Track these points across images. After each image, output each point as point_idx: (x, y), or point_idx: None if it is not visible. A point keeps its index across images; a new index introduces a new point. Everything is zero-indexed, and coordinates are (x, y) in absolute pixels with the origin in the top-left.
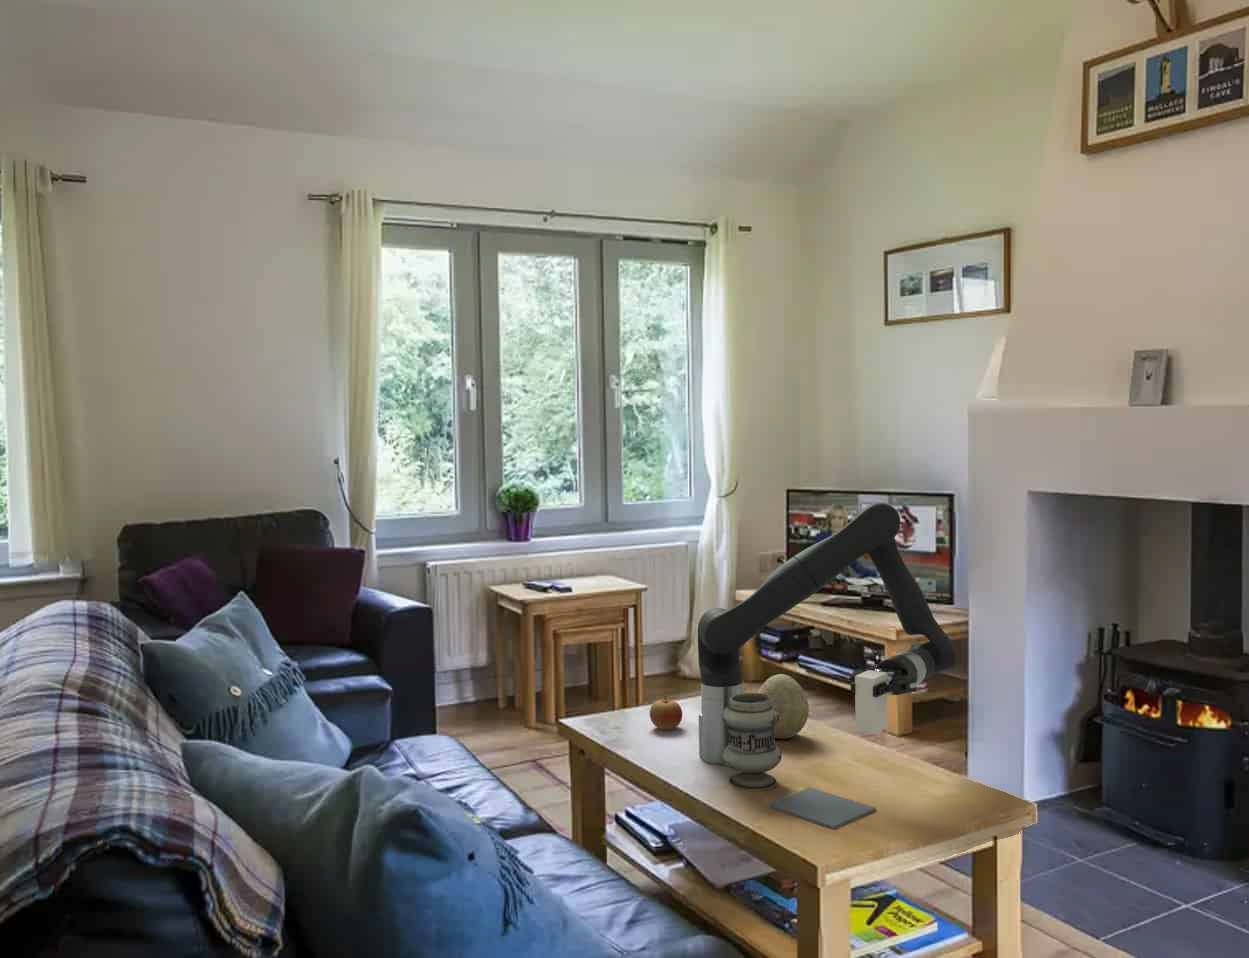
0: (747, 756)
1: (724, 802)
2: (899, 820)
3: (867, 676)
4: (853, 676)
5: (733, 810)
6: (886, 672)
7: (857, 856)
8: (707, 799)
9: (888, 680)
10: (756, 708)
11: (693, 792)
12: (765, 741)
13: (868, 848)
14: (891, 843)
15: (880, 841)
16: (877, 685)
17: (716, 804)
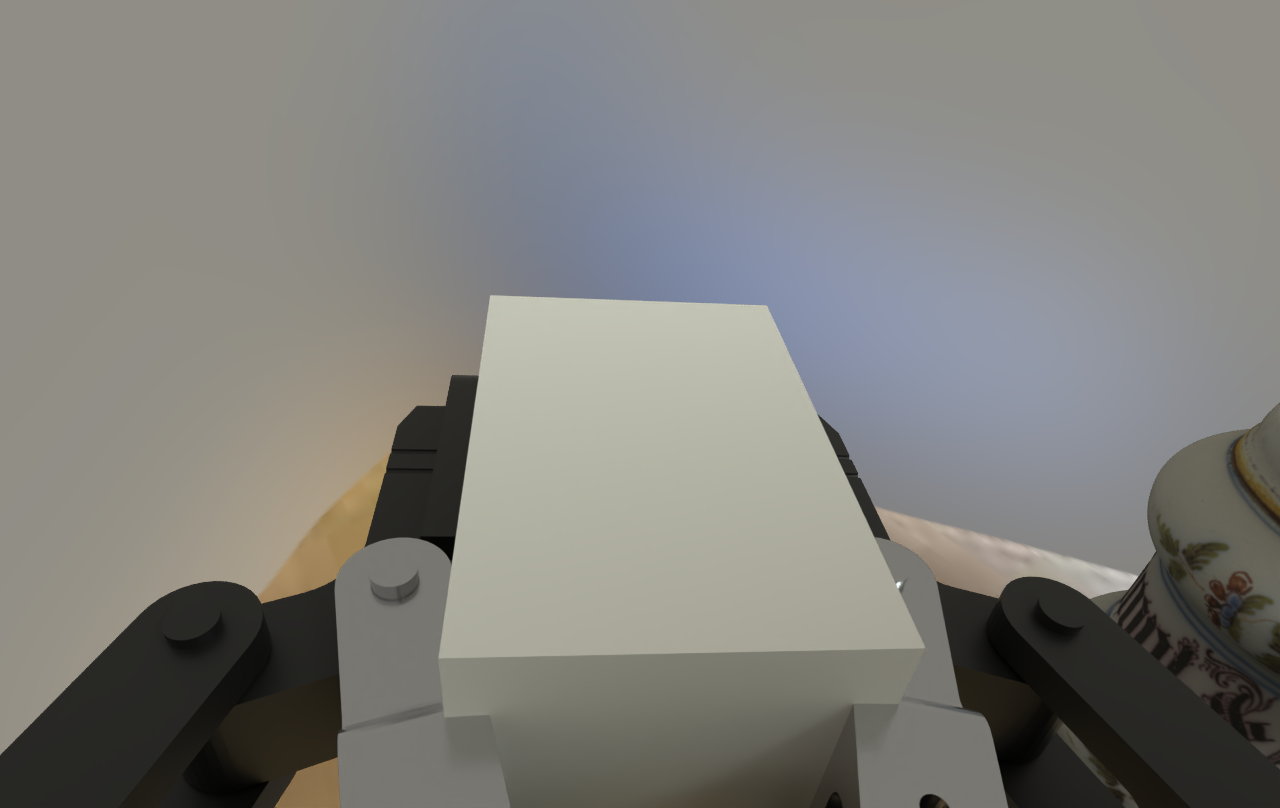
0: (1112, 597)
1: (976, 571)
2: (308, 798)
3: (627, 339)
4: (1031, 584)
5: (892, 536)
6: (462, 663)
7: (376, 464)
8: (1034, 563)
9: (384, 653)
10: (1254, 440)
11: (1127, 585)
12: (1137, 617)
13: (360, 515)
14: (292, 578)
15: (336, 573)
16: (458, 400)
17: (973, 546)
